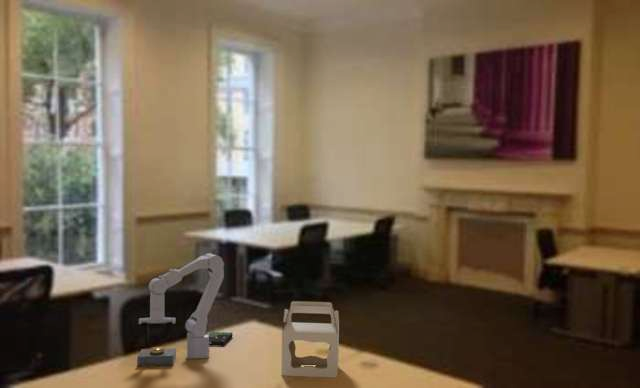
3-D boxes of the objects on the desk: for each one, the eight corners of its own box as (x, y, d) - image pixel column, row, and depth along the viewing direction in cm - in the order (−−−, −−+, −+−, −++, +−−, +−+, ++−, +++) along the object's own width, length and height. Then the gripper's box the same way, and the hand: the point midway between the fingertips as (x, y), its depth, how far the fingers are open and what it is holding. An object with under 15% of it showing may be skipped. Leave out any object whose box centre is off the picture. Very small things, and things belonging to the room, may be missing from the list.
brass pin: (164, 359, 248) (164, 346, 247) (163, 363, 242) (163, 350, 242) (151, 359, 247) (151, 347, 247) (148, 363, 241) (149, 351, 241)
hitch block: (175, 357, 250) (175, 348, 250) (172, 365, 240) (172, 355, 240) (141, 358, 249) (141, 349, 248) (137, 366, 239) (137, 356, 239)
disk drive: (224, 347, 268) (232, 338, 283) (224, 341, 268) (232, 332, 283) (202, 346, 269) (211, 336, 284) (202, 340, 269) (211, 331, 284)
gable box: (280, 375, 231) (281, 304, 230) (284, 364, 244) (285, 297, 243) (337, 378, 229) (338, 306, 228) (338, 366, 243) (340, 299, 241)
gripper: (137, 310, 239) (137, 343, 239) (174, 310, 241) (173, 343, 241) (140, 306, 246) (140, 338, 246) (176, 306, 248) (176, 338, 248)
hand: (157, 340), depth 244 cm, fingers open, 7 cm apart
